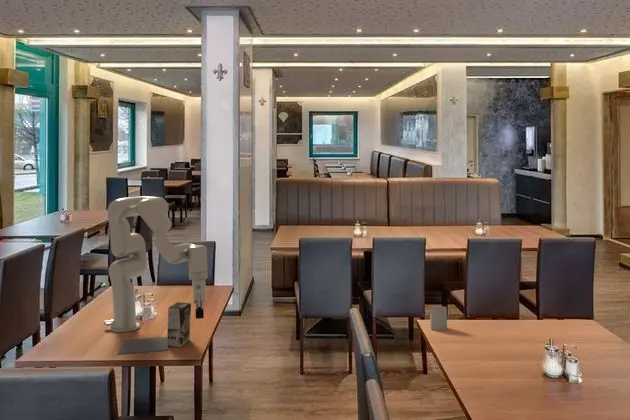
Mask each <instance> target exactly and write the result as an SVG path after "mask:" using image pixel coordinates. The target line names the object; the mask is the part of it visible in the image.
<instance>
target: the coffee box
mask: <svg viewBox="0 0 630 420" xmlns="http://www.w3.org/2000/svg"><path fill="white" fill-rule="evenodd" d="M167 310H168V312H167V316H168V317H167V336H166V337H167V345H169V346H171V347H178V348H182V347H183V346H184V345H186V344H187V343H188V342H189V341H191V310H192V303H191V302H179V301H178V302H175V303H174V304H172V305H171V306H169V307H168V309H167Z"/></svg>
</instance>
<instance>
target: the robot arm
mask: <svg viewBox="0 0 630 420" xmlns="http://www.w3.org/2000/svg"><path fill="white" fill-rule="evenodd" d="M169 208H170V207H169V204H168V202H167V201H166V199H165V198H163V197H159V196H145V195H142V196H141V195H139V196H130V197H129V196H128V197H121V198H117V199H114V200H113V201H111V202H110V204H109V206H108V207H107V219H108V223H109V237H110V250H111V254H112V255H113V256H114V257H116V258H118V257H119V258H120V257H125V258H122V259H117V260H115V261H113V262H112V263H111V264H110V265H109V268H108V276H109V278H110V283H111V291H112V293H111V295H112V309H113V319H110V320H108V319H107V320H103V324H104V326H105V327H107V326H110V330H111V332H115V333H128V332H132V331H133V332H134V331H135V330H138V329H139V328H140V326H141V324H140V323H139V322H137V313H136V312H137V311H136V296H135V295H136V293H135V286H134V285H133V283H132V281H131V280H132V279H134V278H138V277H141V276H143V275H144V274H145V273H146V271H147V248H146V242H145V239H144V237H143V236H142V235H141V234H140V233H137V232H131V226H130V223H129V220H128V219H127V218H129V217H136V216H140V217H141V218H142V220H143V221H144V223H146V225H147V226H148V227H149V228H150V230H151V231H152V232H153V234H154V244H155V247H156V249H157V251H158V252H159V254H160V256H161V257H162V258H163V259H164V260H165V261H166V262H167V263H169V264H170V265H171V264H172V265H176V264H181V263H184V262H188V279H189V280H191V283H192V296H193V303H194V305H195V319H196V320H198V319H204V318H205V316H204V307H203V305H204V304H206V302H207V289H206V287H207V285H206V280H207V279H208V278H209V277H208V274H209V273H208V252H207V251H208V249H207V247H206V245H203V244H194V243H191V242H185V243H184V242H183V243H178V244H172V242H171V241H170V240H169V238H168V237H167V233H168V232H169V230H170V229H171V228H172V225H173V224H172V223H173V222H172V221H171V220H170V219H169V217H168V216H167V214H168V212H169ZM127 256H128V257H127ZM126 257H127V258H126ZM203 303H204V304H203Z"/></svg>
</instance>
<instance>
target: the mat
mask: <svg viewBox="0 0 630 420" xmlns="http://www.w3.org/2000/svg"><path fill="white" fill-rule="evenodd" d="M169 346H170V345H167V336H165V337H164V336H163V337H151V338H150V337H149V338H137V339H123V342H122V343H121V346H120V348H119V350H118V352H117V355H126V354H138V353H139V354H140V353H141V354H142V353H154V352H155V353H157V352H166V351H167V352H168V349H169Z"/></svg>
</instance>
